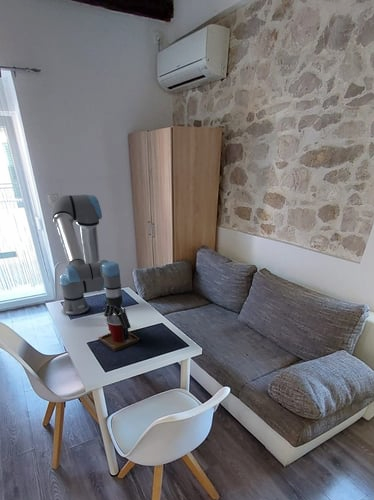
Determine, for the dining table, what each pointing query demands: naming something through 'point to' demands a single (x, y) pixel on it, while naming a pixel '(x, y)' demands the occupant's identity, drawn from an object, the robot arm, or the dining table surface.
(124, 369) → the dining table surface
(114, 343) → the tray
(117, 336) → the plastic cup
